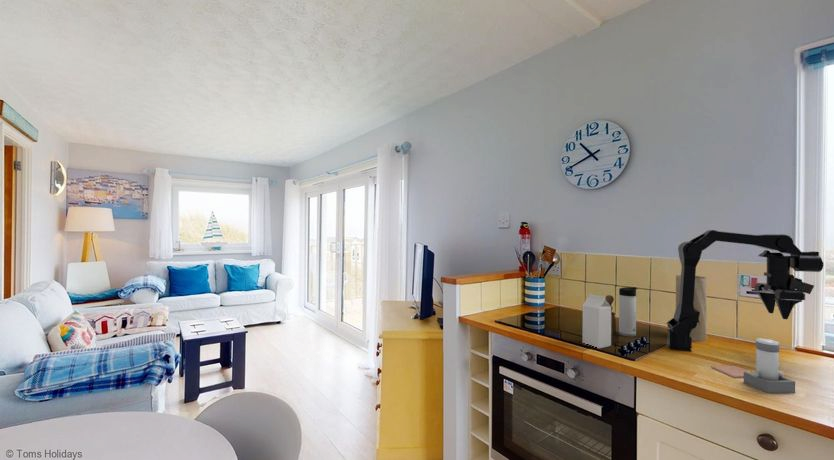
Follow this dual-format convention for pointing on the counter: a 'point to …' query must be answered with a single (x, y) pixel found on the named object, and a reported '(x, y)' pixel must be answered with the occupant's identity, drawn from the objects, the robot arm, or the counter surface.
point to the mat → (731, 371)
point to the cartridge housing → (770, 383)
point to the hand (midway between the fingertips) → (777, 316)
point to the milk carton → (597, 321)
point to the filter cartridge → (767, 359)
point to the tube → (696, 306)
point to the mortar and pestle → (612, 321)
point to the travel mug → (627, 311)
